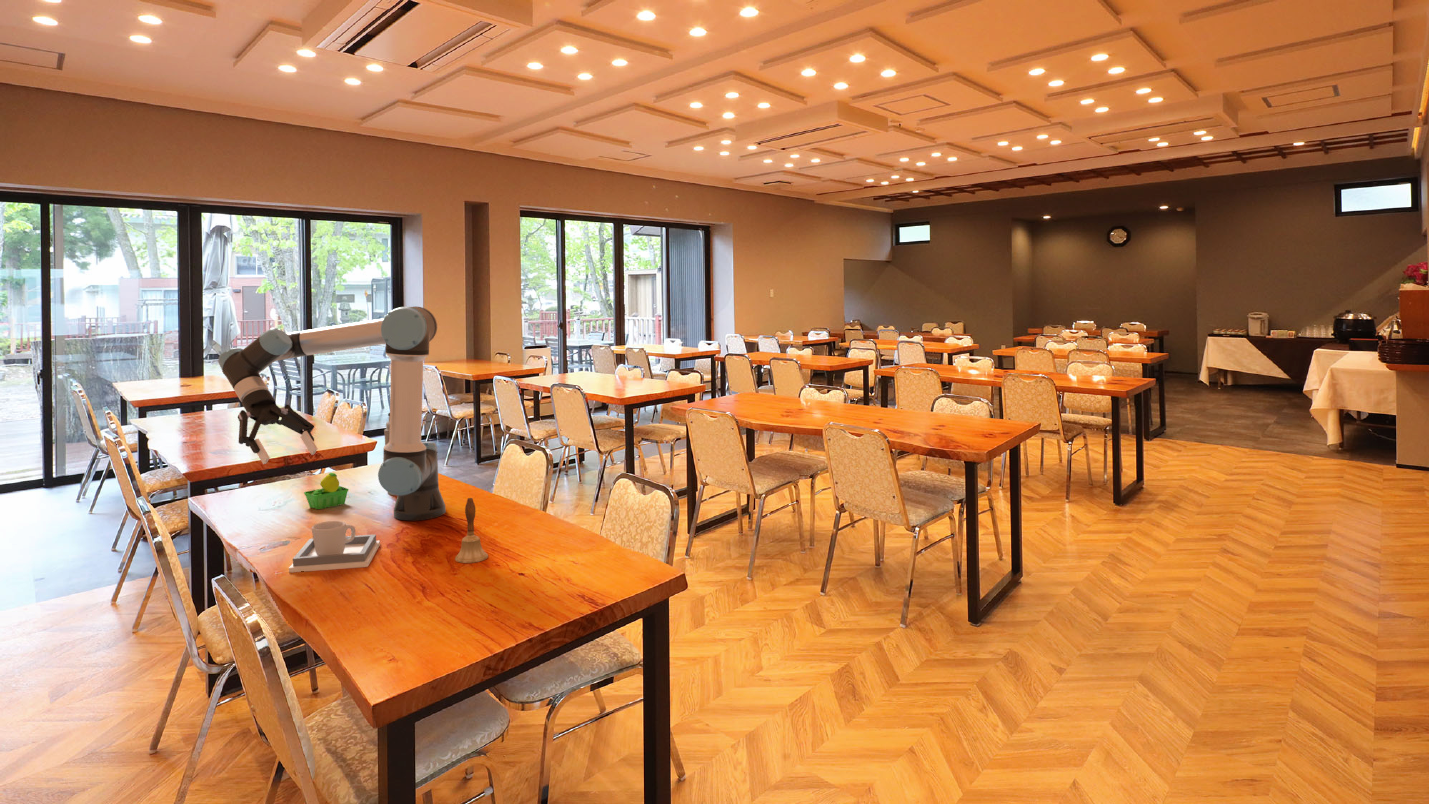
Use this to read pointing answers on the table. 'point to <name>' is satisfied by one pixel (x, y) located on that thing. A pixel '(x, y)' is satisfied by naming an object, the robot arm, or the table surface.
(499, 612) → the table surface
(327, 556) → the gray rimmed square tray
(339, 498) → the fruit basket
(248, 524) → the table surface
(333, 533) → the cup
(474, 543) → the hand bell
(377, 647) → the table surface
